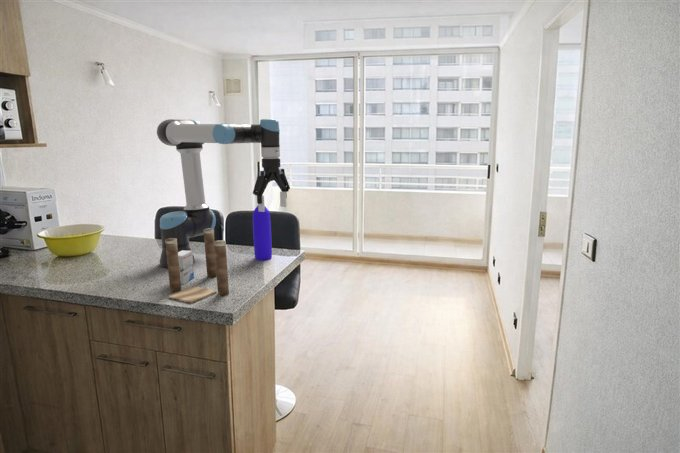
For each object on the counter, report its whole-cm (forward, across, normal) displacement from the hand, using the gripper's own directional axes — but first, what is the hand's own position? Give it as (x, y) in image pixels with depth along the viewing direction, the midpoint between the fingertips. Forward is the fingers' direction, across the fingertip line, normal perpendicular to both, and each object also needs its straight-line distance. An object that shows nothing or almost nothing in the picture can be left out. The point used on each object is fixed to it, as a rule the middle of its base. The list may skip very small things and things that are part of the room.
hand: (272, 209), depth 186 cm
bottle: (+27, +12, +18) cm, 35 cm away
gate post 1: (+27, -38, +16) cm, 50 cm away
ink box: (+28, -29, +23) cm, 46 cm away
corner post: (+27, -31, -2) cm, 41 cm away
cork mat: (+27, -39, +6) cm, 48 cm away
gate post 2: (+27, -19, +18) cm, 38 cm away
